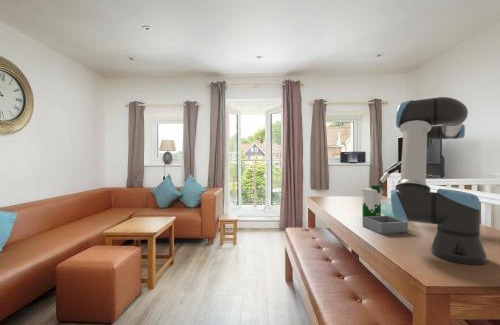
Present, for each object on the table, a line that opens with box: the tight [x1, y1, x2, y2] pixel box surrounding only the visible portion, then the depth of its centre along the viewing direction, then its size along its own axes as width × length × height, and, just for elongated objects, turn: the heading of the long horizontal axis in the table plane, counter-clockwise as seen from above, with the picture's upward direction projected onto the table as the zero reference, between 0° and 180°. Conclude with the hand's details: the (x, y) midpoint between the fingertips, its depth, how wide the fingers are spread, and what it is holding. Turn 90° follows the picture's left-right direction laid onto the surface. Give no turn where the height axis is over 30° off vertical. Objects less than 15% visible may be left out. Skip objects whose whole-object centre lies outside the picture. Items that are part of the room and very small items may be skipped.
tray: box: [362, 215, 409, 235], centre depth 125 cm, size 14×14×5 cm
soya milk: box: [361, 184, 383, 218], centre depth 144 cm, size 9×9×20 cm
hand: (389, 182), depth 146 cm, fingers open, 13 cm apart
